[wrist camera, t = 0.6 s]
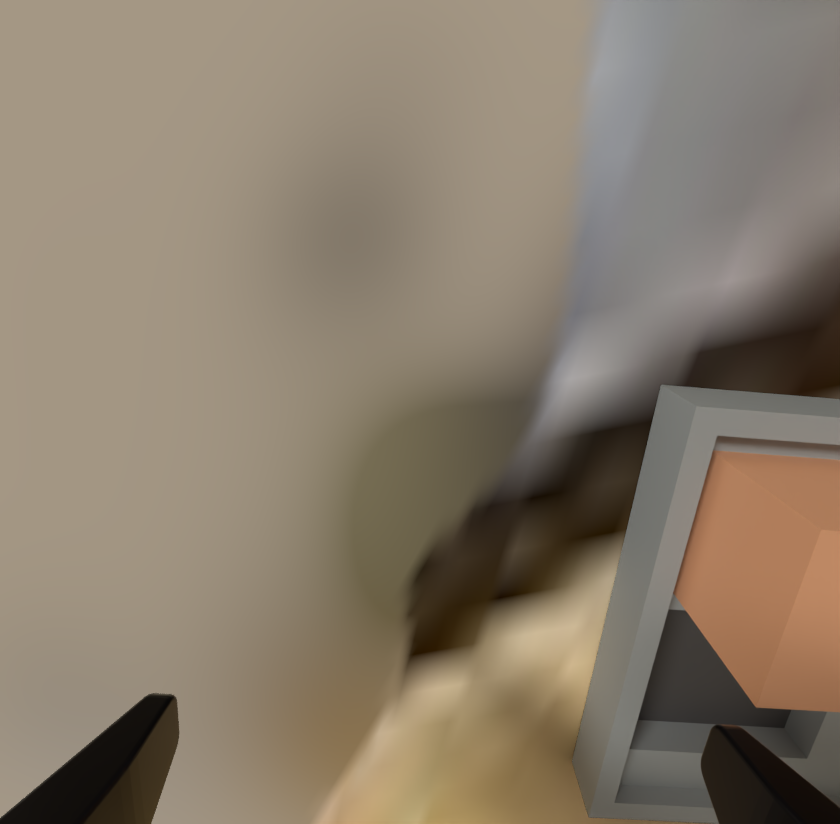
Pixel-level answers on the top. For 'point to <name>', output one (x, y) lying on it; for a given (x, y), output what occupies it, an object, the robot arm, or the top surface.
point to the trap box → (689, 623)
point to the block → (769, 576)
